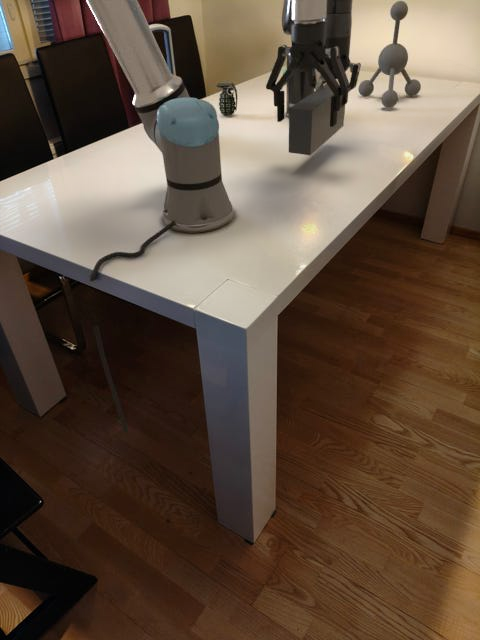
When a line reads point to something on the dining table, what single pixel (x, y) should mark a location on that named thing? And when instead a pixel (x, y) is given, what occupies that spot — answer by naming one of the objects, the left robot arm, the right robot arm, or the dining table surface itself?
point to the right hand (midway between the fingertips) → (331, 104)
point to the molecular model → (392, 63)
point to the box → (312, 122)
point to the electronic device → (166, 44)
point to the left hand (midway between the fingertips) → (306, 122)
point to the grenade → (227, 99)
